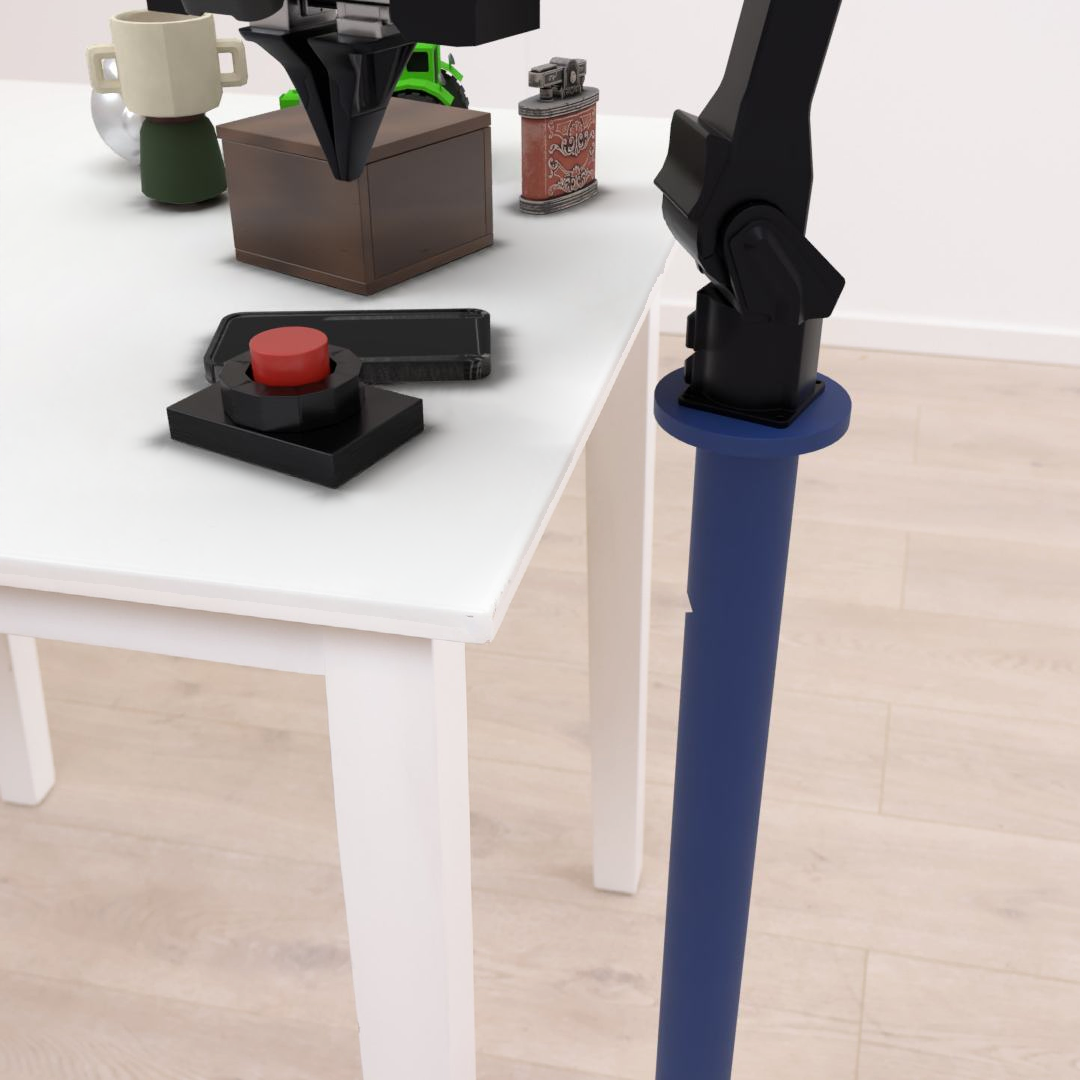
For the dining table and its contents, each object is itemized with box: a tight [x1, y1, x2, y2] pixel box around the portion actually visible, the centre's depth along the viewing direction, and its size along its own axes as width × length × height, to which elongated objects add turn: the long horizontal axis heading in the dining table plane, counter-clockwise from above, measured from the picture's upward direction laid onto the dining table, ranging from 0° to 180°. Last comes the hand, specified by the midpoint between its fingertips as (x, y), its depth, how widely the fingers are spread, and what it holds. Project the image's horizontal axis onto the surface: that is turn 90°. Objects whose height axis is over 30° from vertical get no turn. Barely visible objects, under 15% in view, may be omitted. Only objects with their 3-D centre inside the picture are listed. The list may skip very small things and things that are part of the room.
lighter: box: [517, 56, 600, 215], centre depth 95 cm, size 8×3×10 cm, turn 145°
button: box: [249, 327, 331, 386], centre depth 61 cm, size 4×4×2 cm
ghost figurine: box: [90, 58, 207, 166], centre depth 104 cm, size 9×10×10 cm
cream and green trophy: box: [85, 8, 249, 205], centre depth 94 cm, size 11×7×13 cm, turn 105°
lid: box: [215, 97, 492, 164], centre depth 83 cm, size 12×13×1 cm
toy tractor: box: [278, 43, 470, 110], centre depth 103 cm, size 11×16×10 cm
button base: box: [165, 344, 425, 489], centre depth 62 cm, size 10×7×4 cm
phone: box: [203, 307, 492, 385], centre depth 71 cm, size 8×1×15 cm
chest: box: [221, 125, 494, 297], centre depth 85 cm, size 12×13×8 cm
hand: (348, 179), depth 63 cm, fingers closed
